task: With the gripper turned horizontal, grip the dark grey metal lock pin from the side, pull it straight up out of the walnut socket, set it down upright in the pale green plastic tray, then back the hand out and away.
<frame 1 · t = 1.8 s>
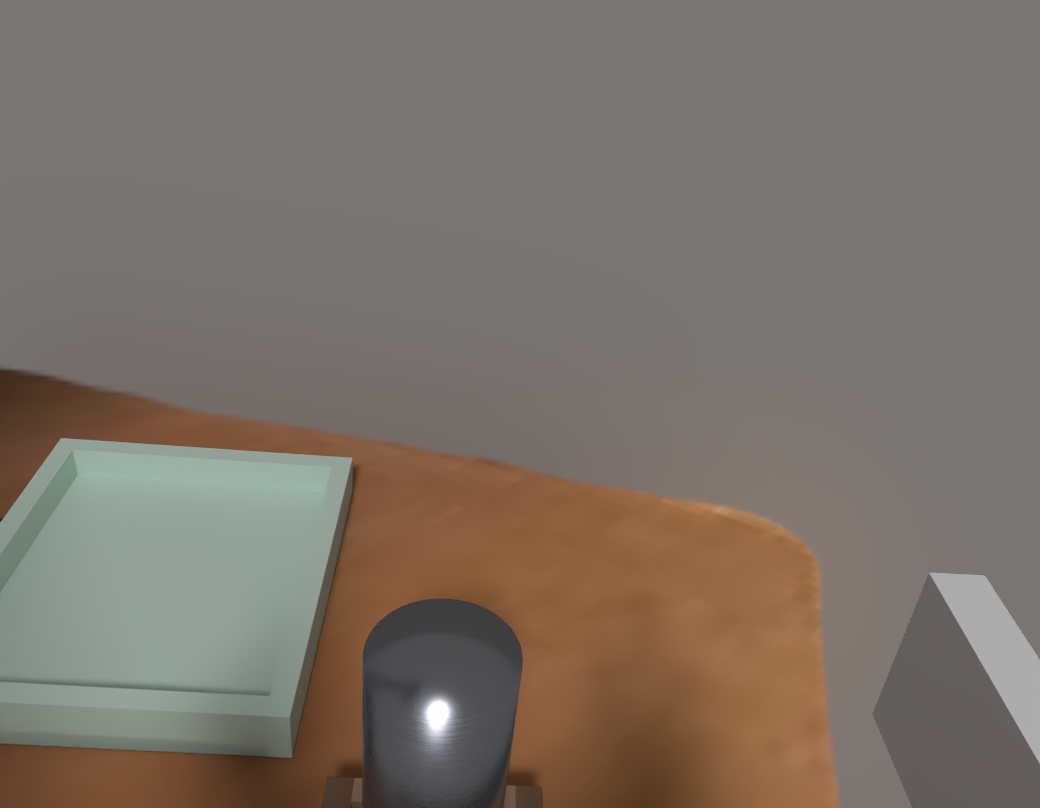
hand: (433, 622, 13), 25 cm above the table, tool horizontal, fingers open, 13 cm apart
tray: (162, 594, 46), on the table
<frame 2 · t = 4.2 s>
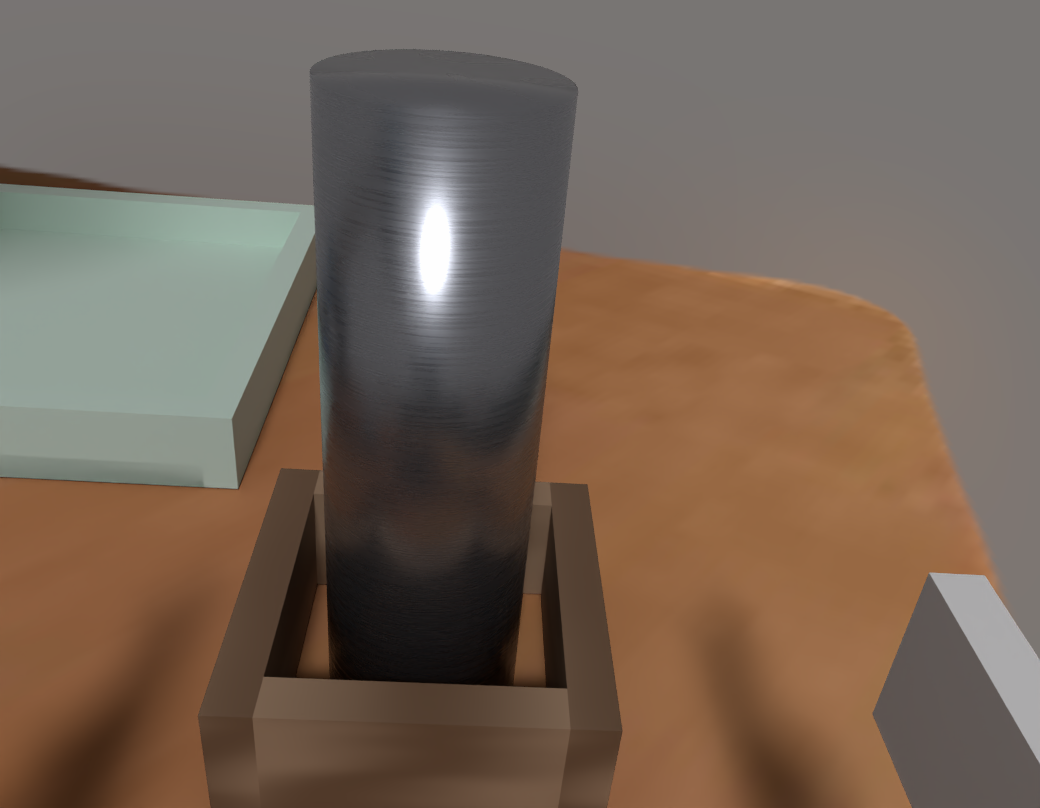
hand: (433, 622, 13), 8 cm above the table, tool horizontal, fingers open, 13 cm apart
pin socket: (422, 674, 23), on the table
lock pin: (431, 432, 19), in the pin socket
tray: (78, 336, 36), on the table
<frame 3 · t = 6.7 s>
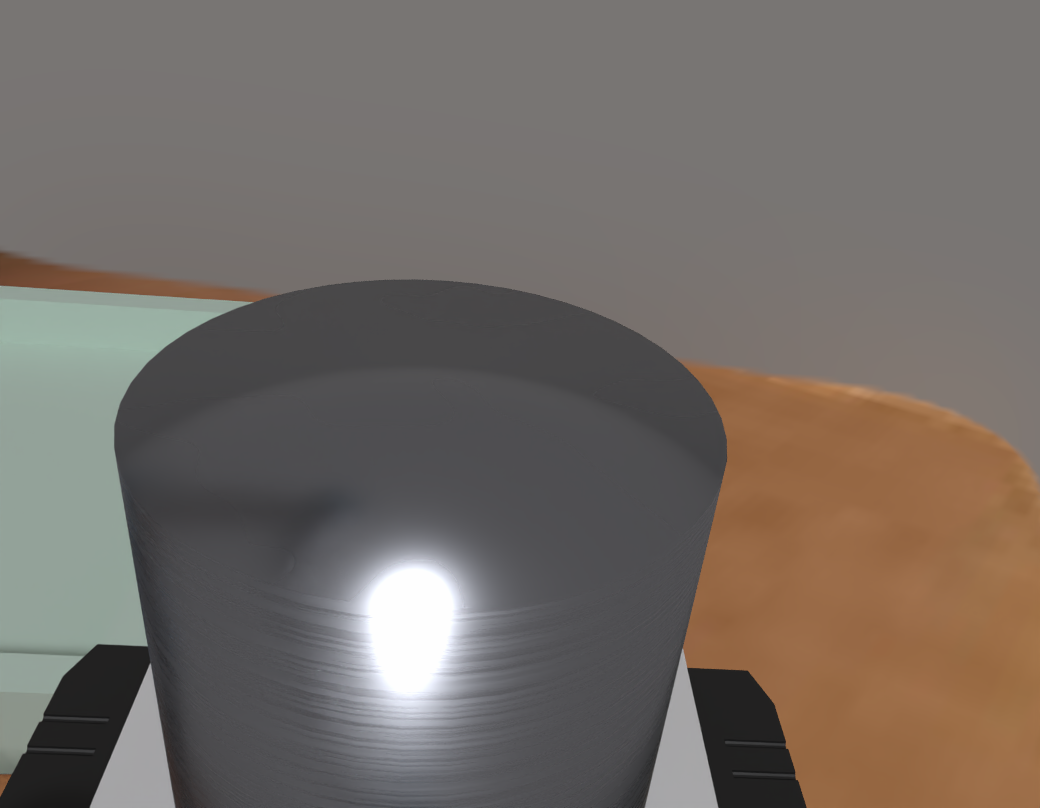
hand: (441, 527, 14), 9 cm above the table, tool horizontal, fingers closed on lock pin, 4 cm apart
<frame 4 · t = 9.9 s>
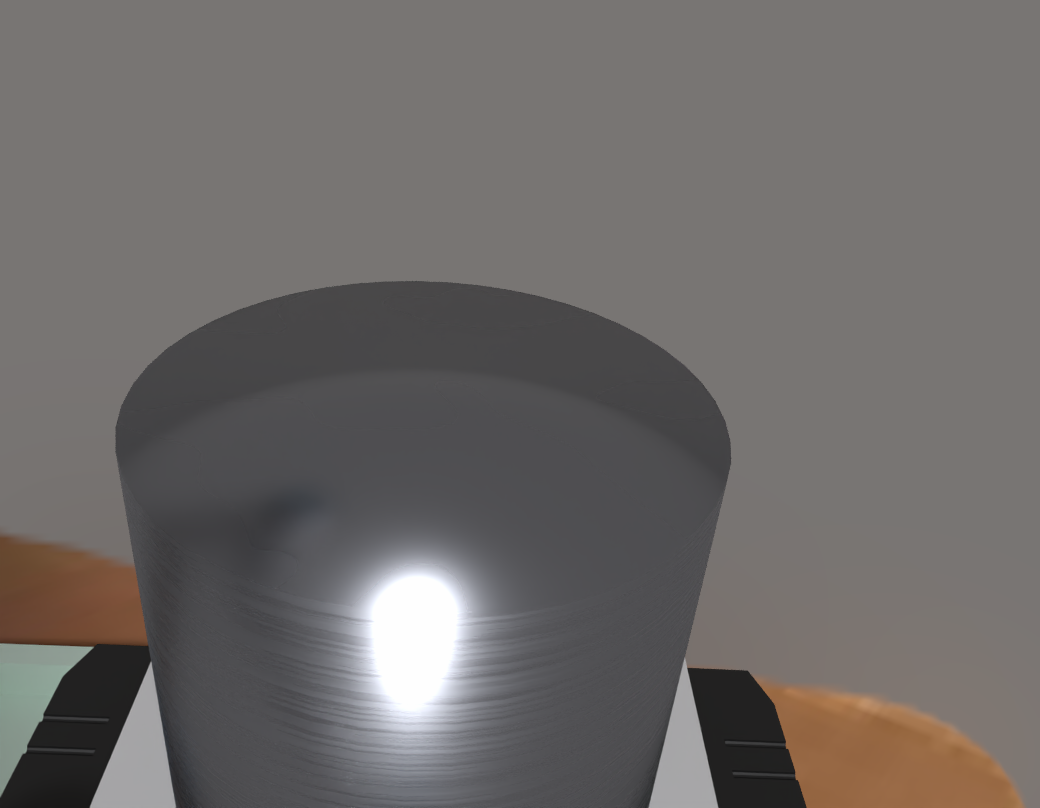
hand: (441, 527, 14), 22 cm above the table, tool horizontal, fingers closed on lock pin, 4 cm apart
when the fingers open (10 cm above the table, at t = 13.3 s): lock pin stays where it is, resting on tray.
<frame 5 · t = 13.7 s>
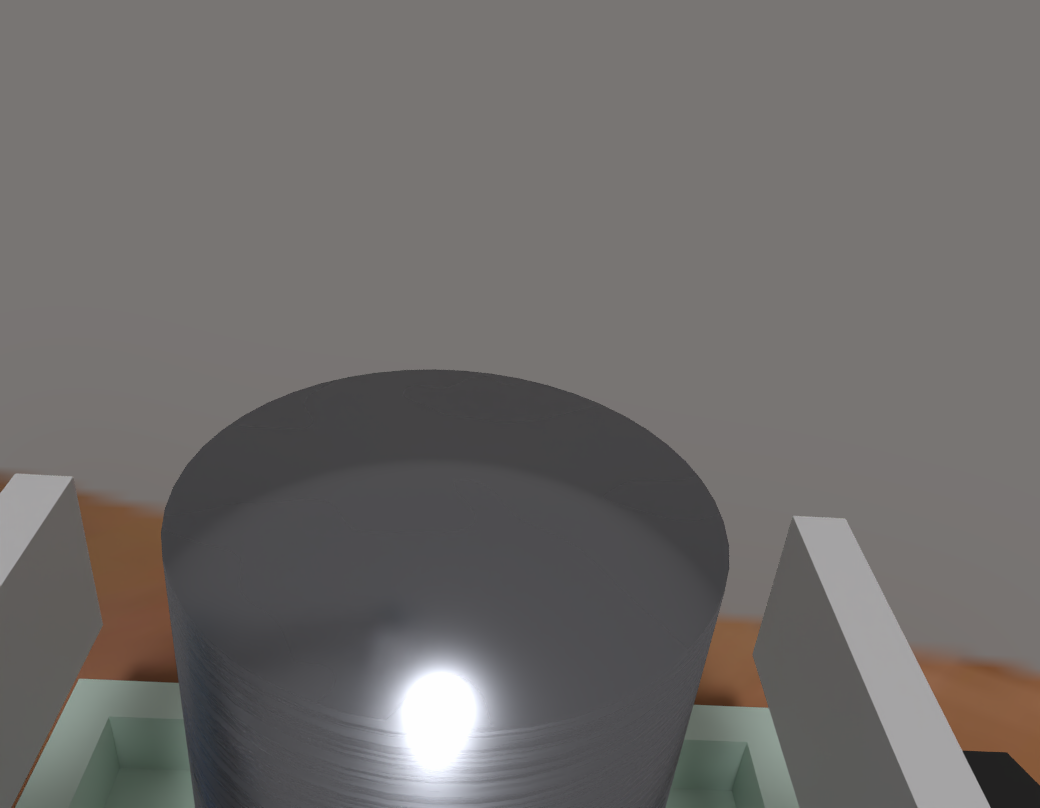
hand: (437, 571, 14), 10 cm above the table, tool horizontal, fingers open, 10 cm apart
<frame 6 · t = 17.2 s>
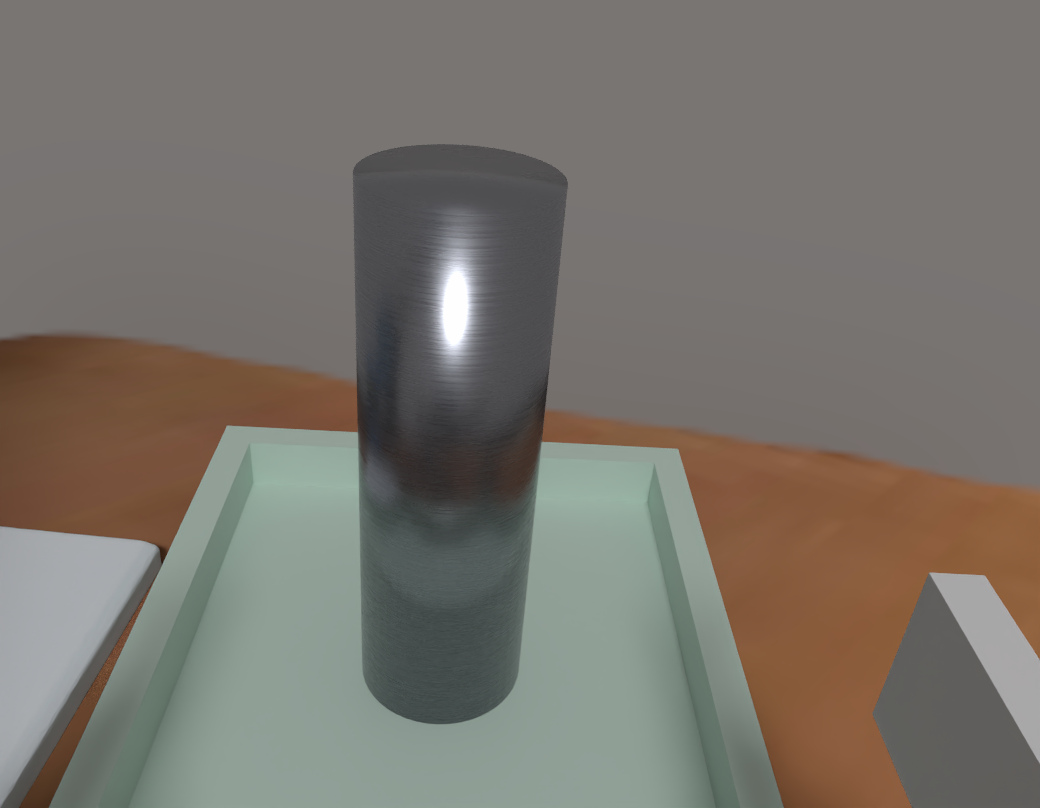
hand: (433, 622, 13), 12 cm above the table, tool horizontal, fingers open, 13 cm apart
lock pin: (449, 456, 23), in the tray, point 8 cm above the table
tray: (439, 680, 27), on the table
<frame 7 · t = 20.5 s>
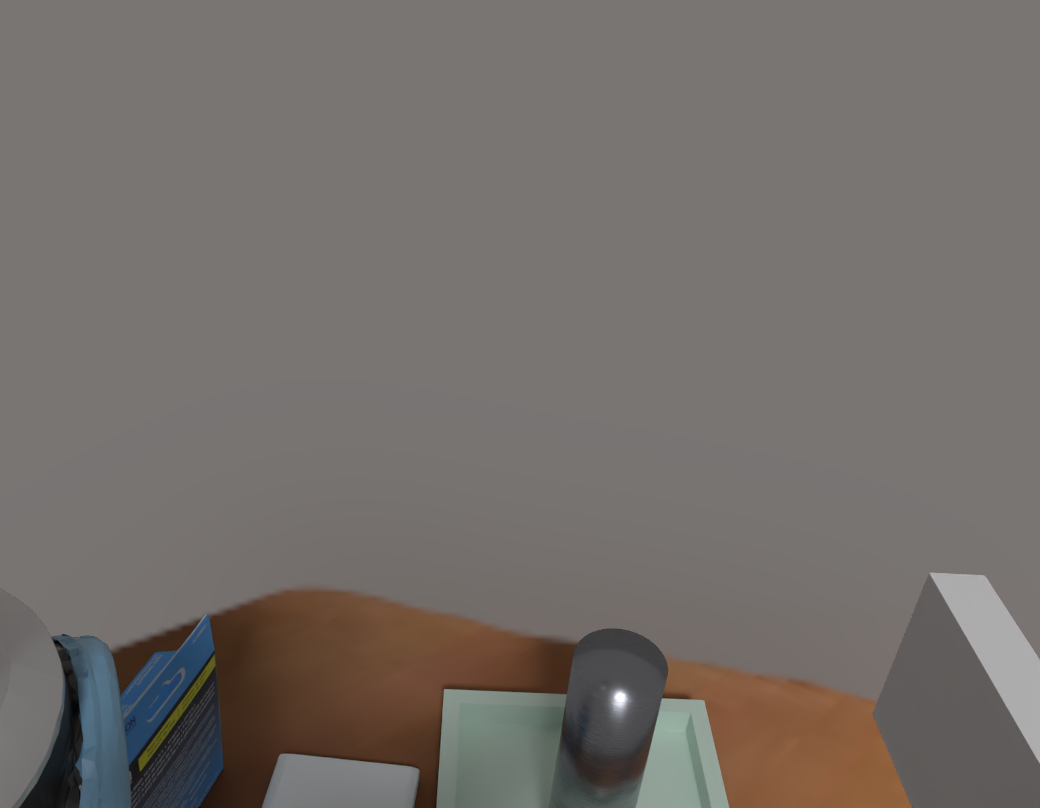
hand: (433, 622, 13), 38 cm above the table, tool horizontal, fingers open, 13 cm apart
lock pin: (600, 762, 47), in the tray, point 8 cm above the table
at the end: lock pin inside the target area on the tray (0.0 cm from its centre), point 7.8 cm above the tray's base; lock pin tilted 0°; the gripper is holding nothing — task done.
